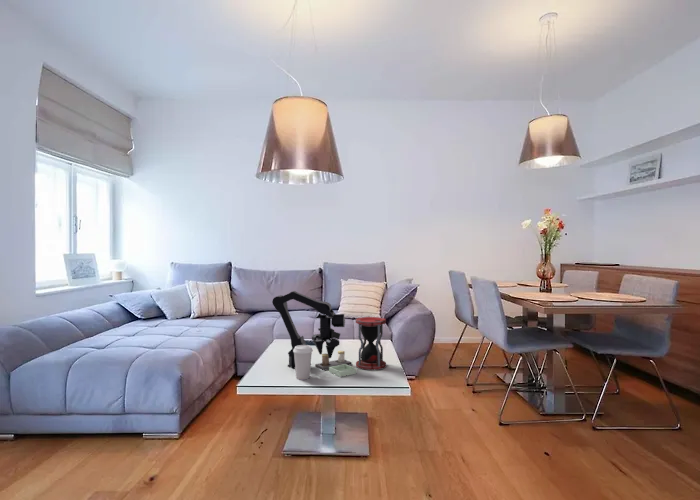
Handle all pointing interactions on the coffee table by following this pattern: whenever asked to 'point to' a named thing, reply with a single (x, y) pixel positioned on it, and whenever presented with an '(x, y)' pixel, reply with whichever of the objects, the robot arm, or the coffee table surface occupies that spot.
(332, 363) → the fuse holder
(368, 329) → the hourglass
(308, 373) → the coffee cup
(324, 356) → the fuse
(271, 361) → the coffee table surface
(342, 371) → the parts tray
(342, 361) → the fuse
